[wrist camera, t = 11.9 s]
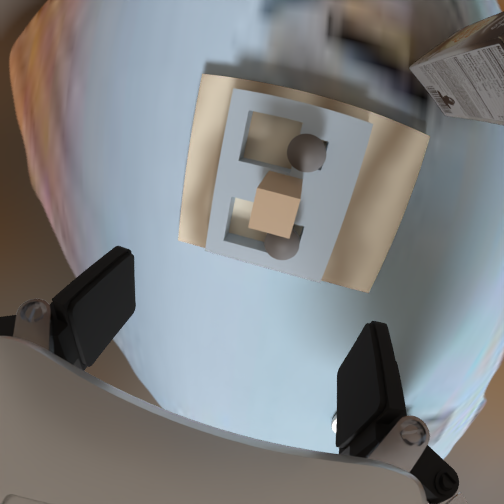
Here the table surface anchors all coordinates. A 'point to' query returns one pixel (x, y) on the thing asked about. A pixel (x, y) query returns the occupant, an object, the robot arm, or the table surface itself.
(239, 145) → the panel
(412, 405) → the table surface
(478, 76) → the coffee box
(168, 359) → the table surface
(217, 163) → the board
